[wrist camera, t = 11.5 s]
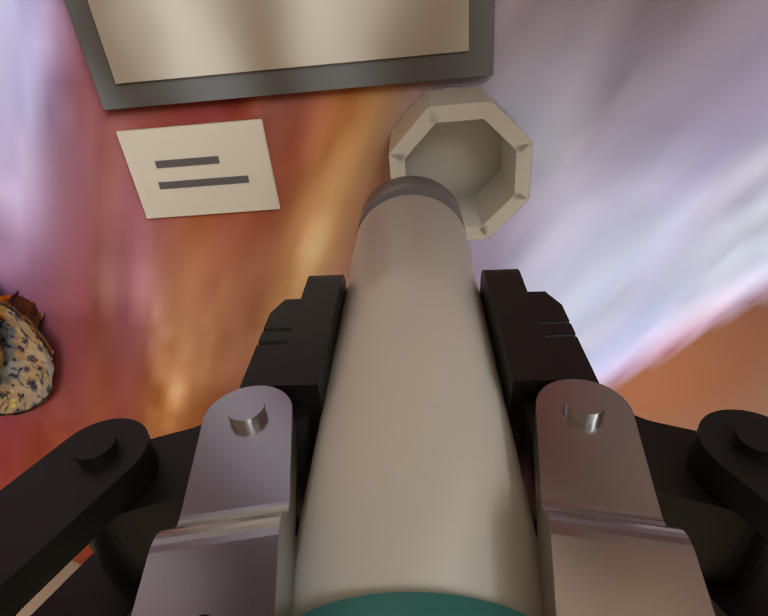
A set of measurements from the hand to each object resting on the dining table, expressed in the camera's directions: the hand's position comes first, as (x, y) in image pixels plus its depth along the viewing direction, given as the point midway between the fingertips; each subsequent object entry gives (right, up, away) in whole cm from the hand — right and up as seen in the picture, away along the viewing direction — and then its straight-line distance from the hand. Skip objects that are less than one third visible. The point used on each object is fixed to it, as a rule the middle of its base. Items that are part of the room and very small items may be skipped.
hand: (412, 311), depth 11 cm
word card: (-11, +8, +18) cm, 22 cm away
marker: (0, +2, +4) cm, 5 cm away
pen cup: (+3, +9, +17) cm, 19 cm away
